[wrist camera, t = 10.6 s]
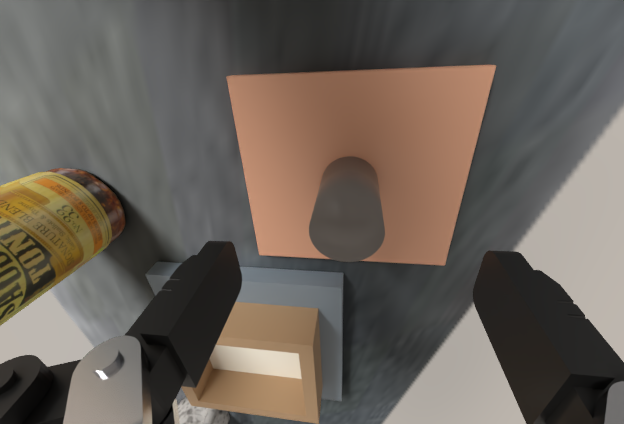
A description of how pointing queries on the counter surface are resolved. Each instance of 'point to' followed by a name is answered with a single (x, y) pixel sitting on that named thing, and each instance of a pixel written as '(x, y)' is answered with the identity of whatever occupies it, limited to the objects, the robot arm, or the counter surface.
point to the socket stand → (274, 344)
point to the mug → (200, 414)
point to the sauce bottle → (51, 231)
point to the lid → (359, 159)
